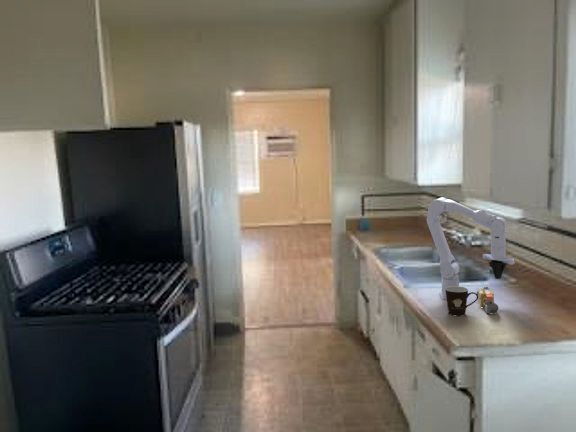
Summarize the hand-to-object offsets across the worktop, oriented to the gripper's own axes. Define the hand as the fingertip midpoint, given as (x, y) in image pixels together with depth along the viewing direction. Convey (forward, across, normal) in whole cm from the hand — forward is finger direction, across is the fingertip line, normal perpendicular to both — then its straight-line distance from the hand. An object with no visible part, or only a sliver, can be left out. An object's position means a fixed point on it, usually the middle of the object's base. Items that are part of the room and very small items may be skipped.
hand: (498, 278), depth 215 cm
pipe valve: (+10, +2, -9) cm, 14 cm away
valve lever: (+4, +5, -12) cm, 13 cm away
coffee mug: (+11, +2, -23) cm, 26 cm away
